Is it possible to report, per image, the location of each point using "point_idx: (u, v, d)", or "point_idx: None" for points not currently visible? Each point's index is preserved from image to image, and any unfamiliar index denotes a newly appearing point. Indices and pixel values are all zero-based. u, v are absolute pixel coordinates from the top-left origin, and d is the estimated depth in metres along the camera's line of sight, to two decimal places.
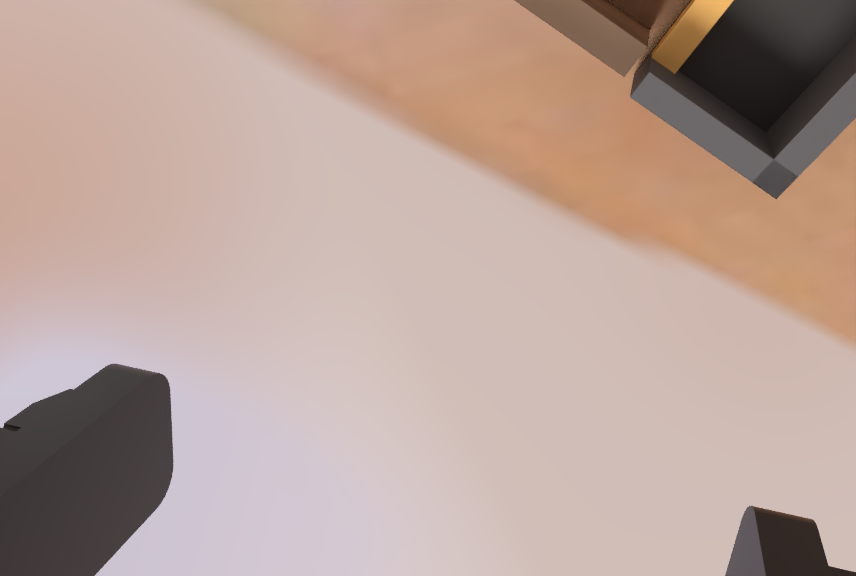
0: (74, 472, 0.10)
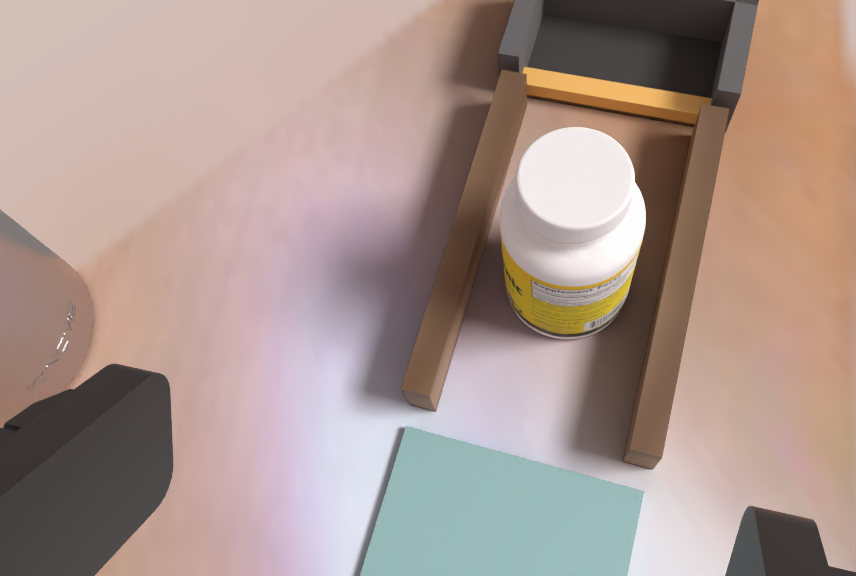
0: (74, 471, 0.10)
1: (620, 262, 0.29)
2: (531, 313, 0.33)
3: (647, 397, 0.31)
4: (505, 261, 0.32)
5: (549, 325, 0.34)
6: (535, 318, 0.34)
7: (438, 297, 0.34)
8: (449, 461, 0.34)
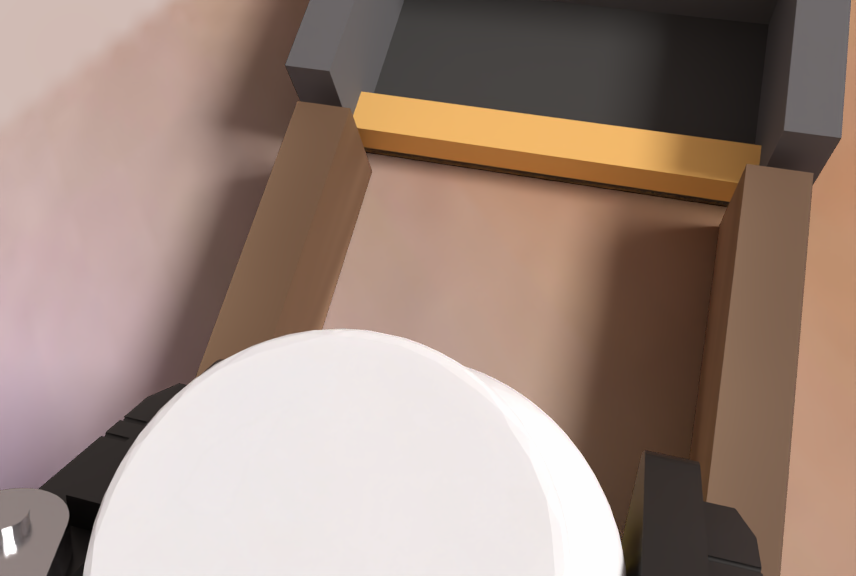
0: None
1: None
2: None
3: None
4: None
5: None
6: None
7: None
8: None
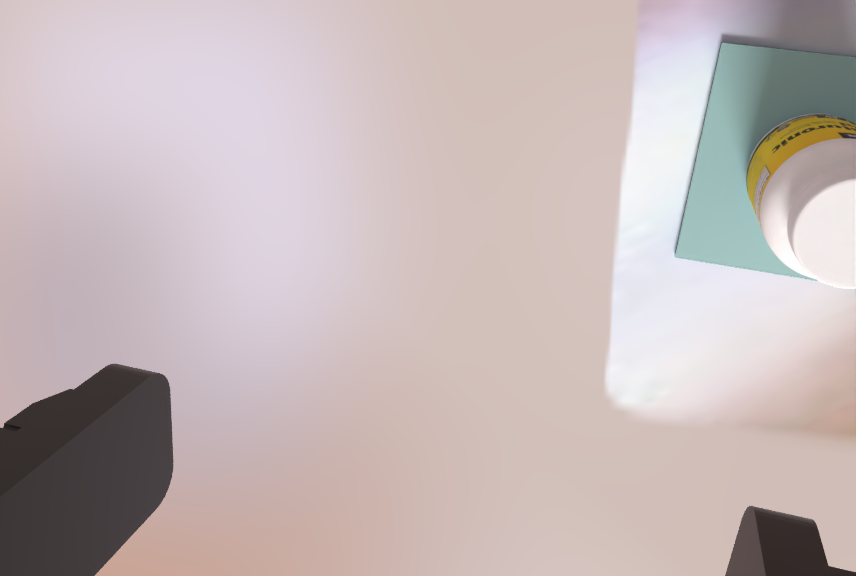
0: (74, 471, 0.10)
1: (781, 259, 0.31)
2: (760, 154, 0.34)
3: None
4: (803, 137, 0.31)
5: (751, 169, 0.35)
6: (757, 157, 0.35)
7: None
8: None
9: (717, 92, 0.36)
